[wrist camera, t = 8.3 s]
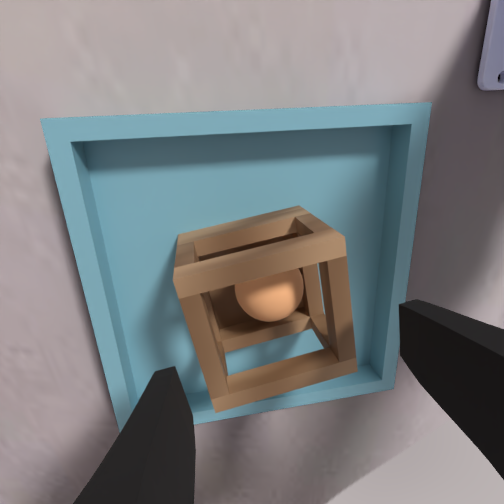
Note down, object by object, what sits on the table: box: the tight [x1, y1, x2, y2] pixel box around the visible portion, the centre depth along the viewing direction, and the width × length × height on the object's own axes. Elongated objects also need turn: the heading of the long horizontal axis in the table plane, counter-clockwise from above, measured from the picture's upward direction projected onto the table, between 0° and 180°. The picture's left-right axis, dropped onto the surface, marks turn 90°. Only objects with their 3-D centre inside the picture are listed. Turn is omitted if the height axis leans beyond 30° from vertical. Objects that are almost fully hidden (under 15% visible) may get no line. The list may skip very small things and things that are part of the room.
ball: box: [235, 268, 304, 322], centre depth 14 cm, size 3×3×3 cm
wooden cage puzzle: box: [173, 205, 358, 413], centre depth 14 cm, size 6×6×5 cm
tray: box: [40, 102, 432, 432], centre depth 16 cm, size 15×15×2 cm
